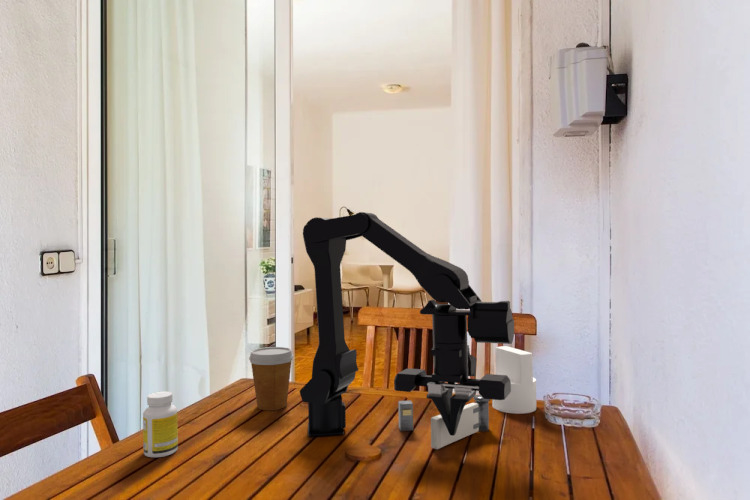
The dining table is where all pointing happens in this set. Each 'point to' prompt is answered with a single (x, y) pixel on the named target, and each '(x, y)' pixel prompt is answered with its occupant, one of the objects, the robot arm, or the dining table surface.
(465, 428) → the long white bar
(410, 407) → the post
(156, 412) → the supplement bottle
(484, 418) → the hinge post
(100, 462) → the dining table surface
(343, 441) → the dining table surface
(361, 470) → the dining table surface
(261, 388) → the disposable coffee cup
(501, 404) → the base with upright slab
